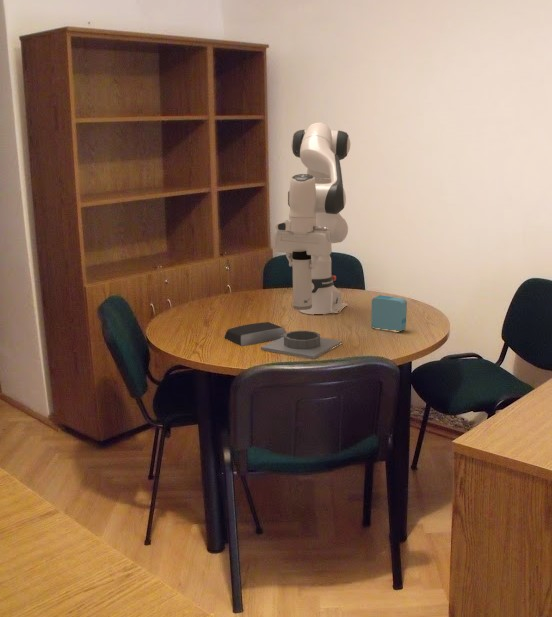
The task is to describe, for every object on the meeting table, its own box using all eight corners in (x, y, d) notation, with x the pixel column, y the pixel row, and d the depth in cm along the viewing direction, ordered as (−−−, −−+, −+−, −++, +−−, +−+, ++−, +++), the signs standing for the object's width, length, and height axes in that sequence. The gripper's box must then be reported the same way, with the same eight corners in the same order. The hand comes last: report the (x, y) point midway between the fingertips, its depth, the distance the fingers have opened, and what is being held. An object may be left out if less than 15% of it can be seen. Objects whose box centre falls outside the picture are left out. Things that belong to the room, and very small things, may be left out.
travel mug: (310, 310, 236) (310, 250, 231) (291, 309, 238) (290, 249, 233) (314, 305, 242) (314, 247, 237) (295, 304, 243) (294, 246, 238)
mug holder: (292, 335, 256) (292, 324, 255) (342, 343, 246) (342, 332, 245) (261, 349, 240) (260, 338, 239) (313, 359, 229) (313, 347, 228)
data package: (406, 330, 262) (407, 298, 259) (400, 333, 258) (402, 301, 255) (376, 326, 268) (377, 294, 265) (370, 328, 265) (371, 297, 262)
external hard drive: (289, 338, 254) (289, 327, 253) (242, 347, 244) (241, 336, 243) (268, 330, 265) (268, 319, 264) (223, 339, 254) (222, 327, 253)
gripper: (335, 226, 230) (334, 269, 234) (281, 222, 241) (281, 263, 244) (326, 228, 225) (325, 272, 228) (271, 224, 236) (271, 266, 239)
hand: (302, 267), depth 236 cm, fingers closed on travel mug, 6 cm apart
